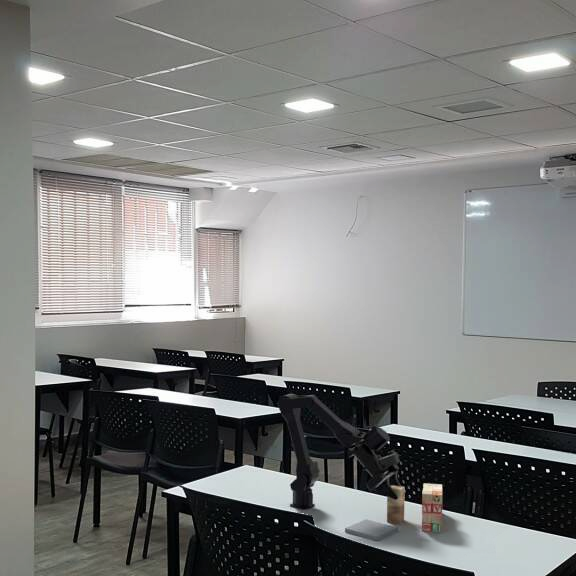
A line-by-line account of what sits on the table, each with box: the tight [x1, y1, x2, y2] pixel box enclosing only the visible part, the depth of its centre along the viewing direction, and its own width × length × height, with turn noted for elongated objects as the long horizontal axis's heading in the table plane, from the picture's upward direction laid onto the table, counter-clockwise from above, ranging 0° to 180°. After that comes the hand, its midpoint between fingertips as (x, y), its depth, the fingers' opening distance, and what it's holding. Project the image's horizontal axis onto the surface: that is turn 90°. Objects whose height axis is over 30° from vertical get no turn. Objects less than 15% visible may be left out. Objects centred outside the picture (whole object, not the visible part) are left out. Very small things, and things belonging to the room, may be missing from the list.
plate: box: [344, 518, 399, 541], centre depth 227 cm, size 12×12×1 cm
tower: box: [386, 485, 406, 525], centre depth 238 cm, size 4×4×11 cm
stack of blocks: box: [421, 483, 443, 534], centre depth 237 cm, size 21×6×12 cm, turn 168°
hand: (399, 496), depth 237 cm, fingers open, 6 cm apart
